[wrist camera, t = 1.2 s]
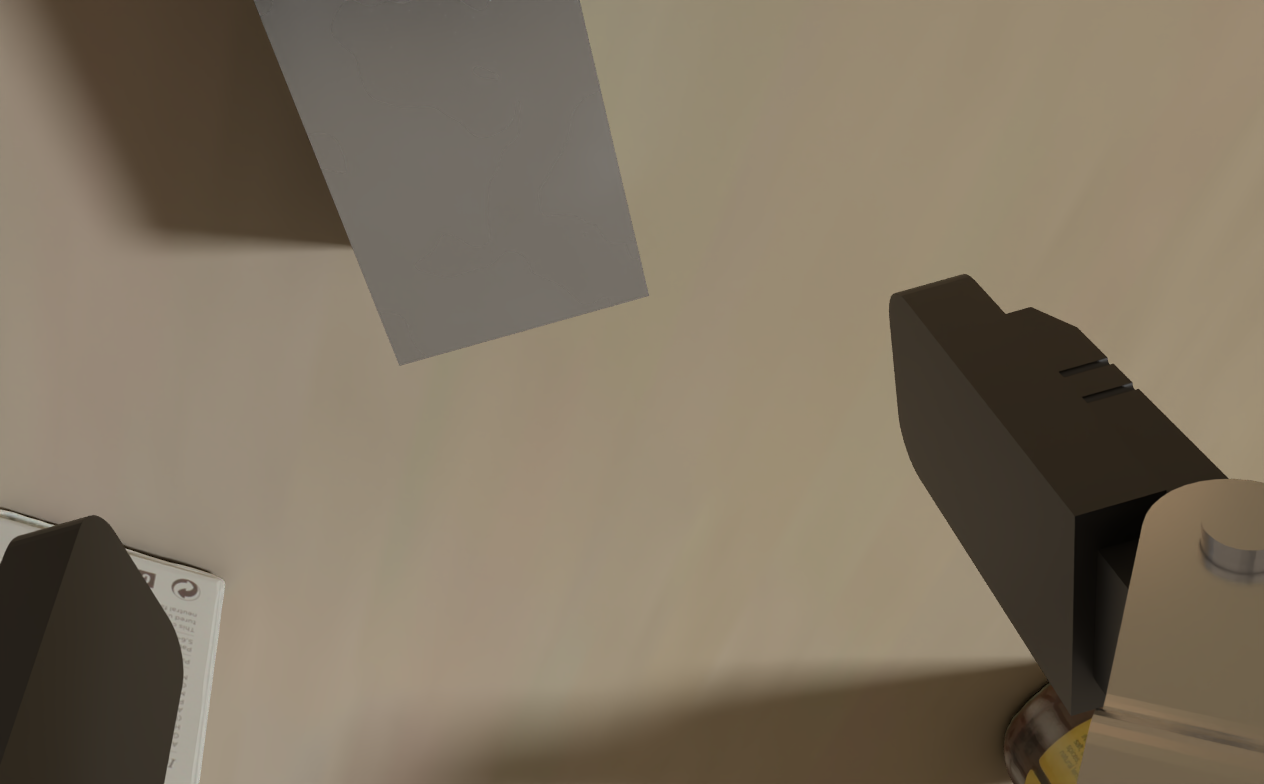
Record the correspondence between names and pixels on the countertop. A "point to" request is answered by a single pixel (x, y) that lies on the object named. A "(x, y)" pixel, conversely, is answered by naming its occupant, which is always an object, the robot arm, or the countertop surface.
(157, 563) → the skincare box
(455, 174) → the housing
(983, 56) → the countertop surface
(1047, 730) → the sauce bottle
